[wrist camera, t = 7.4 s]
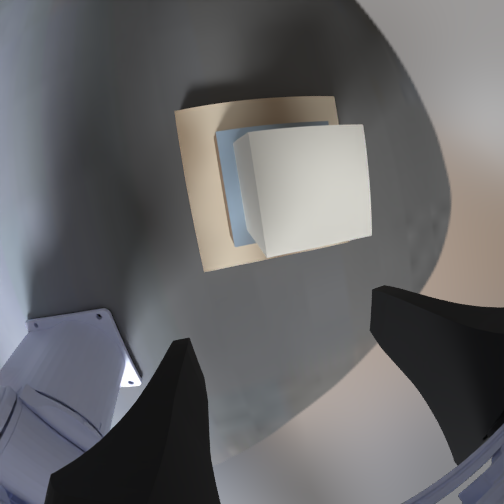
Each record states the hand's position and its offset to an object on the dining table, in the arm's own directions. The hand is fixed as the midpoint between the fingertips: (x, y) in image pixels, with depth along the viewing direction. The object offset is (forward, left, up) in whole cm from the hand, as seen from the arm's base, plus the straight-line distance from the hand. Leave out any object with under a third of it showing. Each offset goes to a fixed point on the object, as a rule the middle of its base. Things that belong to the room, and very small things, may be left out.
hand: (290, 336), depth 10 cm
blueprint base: (+2, +5, -10) cm, 12 cm away
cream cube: (+2, +5, -6) cm, 8 cm away
